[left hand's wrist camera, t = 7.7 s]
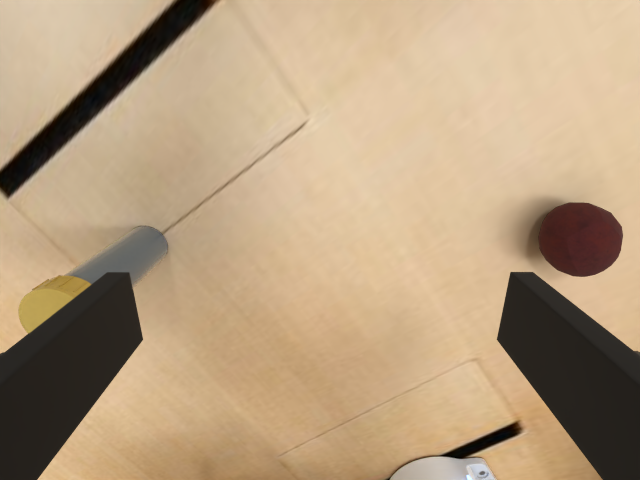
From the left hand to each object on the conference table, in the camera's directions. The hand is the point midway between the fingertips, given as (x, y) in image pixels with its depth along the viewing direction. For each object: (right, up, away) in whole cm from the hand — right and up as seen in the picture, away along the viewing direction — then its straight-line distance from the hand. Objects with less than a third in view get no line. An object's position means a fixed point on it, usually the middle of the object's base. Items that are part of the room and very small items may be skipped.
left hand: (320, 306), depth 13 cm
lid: (-20, -4, +15) cm, 25 cm away
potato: (+27, +4, +28) cm, 39 cm away
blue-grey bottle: (-20, +2, +29) cm, 35 cm away
